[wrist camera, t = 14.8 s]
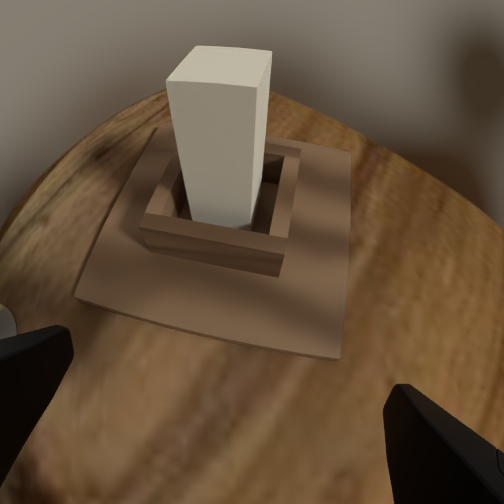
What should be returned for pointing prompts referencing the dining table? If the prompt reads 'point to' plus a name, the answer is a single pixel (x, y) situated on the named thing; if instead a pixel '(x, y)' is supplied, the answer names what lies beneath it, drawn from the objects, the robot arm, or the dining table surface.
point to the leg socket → (232, 253)
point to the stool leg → (221, 131)
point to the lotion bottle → (6, 323)
